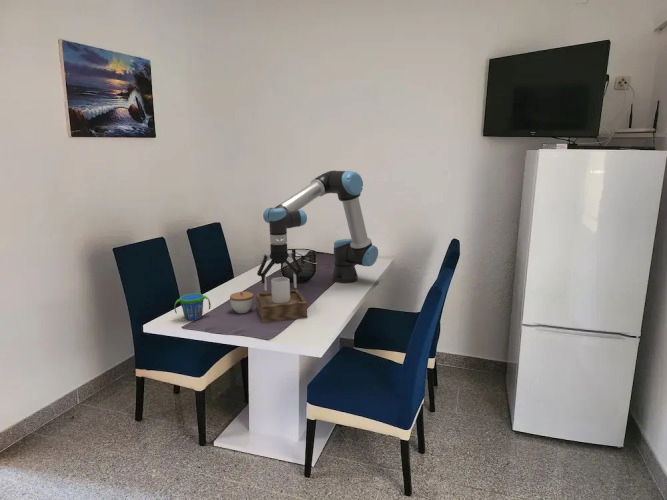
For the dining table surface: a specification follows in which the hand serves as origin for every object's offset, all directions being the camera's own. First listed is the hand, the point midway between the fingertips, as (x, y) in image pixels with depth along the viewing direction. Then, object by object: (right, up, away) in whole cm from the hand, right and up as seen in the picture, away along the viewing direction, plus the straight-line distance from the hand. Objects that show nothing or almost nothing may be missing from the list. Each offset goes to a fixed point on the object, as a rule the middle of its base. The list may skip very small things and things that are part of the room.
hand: (280, 288), depth 220 cm
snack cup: (-39, -13, -3) cm, 41 cm away
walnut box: (0, -11, +2) cm, 12 cm away
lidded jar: (-18, -11, +6) cm, 22 cm away
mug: (+1, -5, +2) cm, 6 cm away
